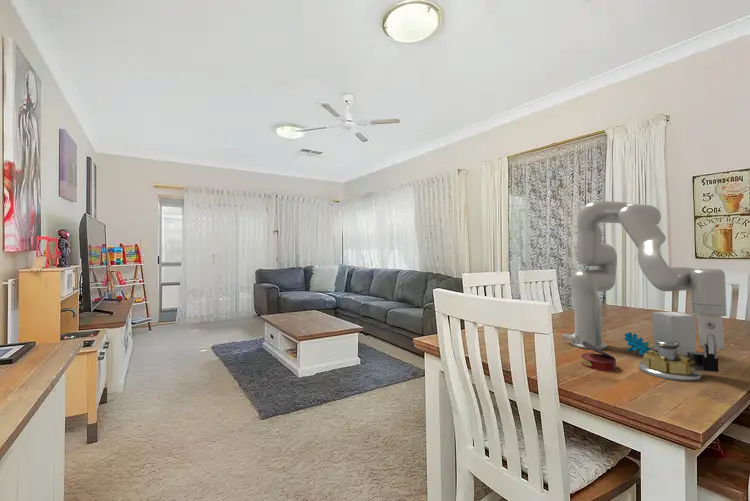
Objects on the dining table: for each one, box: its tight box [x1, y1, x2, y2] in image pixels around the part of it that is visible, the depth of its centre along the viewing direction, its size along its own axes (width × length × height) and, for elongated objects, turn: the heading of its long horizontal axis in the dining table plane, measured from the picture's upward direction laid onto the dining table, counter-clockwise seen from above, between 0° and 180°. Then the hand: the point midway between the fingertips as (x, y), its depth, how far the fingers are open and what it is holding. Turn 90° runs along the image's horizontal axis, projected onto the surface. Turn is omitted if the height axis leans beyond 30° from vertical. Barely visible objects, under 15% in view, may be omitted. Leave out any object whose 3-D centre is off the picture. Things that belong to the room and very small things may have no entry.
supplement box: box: [652, 311, 697, 357], centre depth 128 cm, size 9×9×15 cm
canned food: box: [581, 341, 617, 372], centre depth 116 cm, size 11×10×10 cm
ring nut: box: [642, 349, 712, 374], centre depth 107 cm, size 17×12×5 cm
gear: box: [624, 332, 652, 356], centre depth 129 cm, size 11×6×10 cm
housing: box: [638, 340, 702, 382], centre depth 108 cm, size 15×15×10 cm
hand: (710, 370), depth 101 cm, fingers closed
